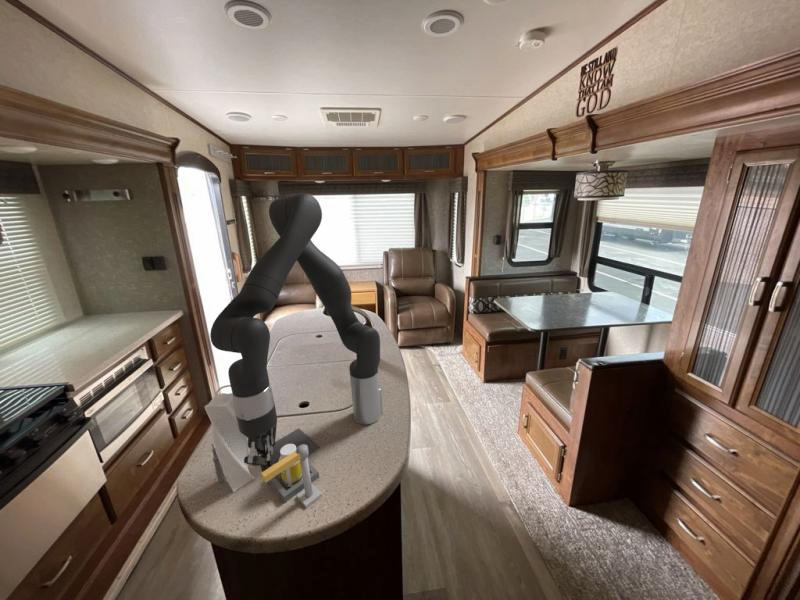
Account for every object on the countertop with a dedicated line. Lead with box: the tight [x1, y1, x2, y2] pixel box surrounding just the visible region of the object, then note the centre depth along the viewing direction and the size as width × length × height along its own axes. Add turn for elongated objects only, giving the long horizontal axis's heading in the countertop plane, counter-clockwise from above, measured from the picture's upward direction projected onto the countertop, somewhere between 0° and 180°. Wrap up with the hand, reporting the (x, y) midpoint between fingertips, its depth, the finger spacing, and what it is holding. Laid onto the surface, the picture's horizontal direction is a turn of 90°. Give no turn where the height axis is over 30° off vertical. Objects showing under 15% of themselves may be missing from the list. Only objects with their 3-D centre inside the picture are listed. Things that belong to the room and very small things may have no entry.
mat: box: [272, 428, 321, 464], centre depth 93 cm, size 12×12×1 cm
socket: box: [267, 456, 323, 509], centre depth 79 cm, size 10×15×13 cm, turn 47°
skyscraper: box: [204, 384, 255, 498], centre depth 79 cm, size 8×8×28 cm
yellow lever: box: [260, 444, 309, 483], centre depth 71 cm, size 11×3×2 cm, turn 138°
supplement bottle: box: [279, 444, 303, 488], centre depth 82 cm, size 5×5×10 cm
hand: (268, 470), depth 71 cm, fingers closed
